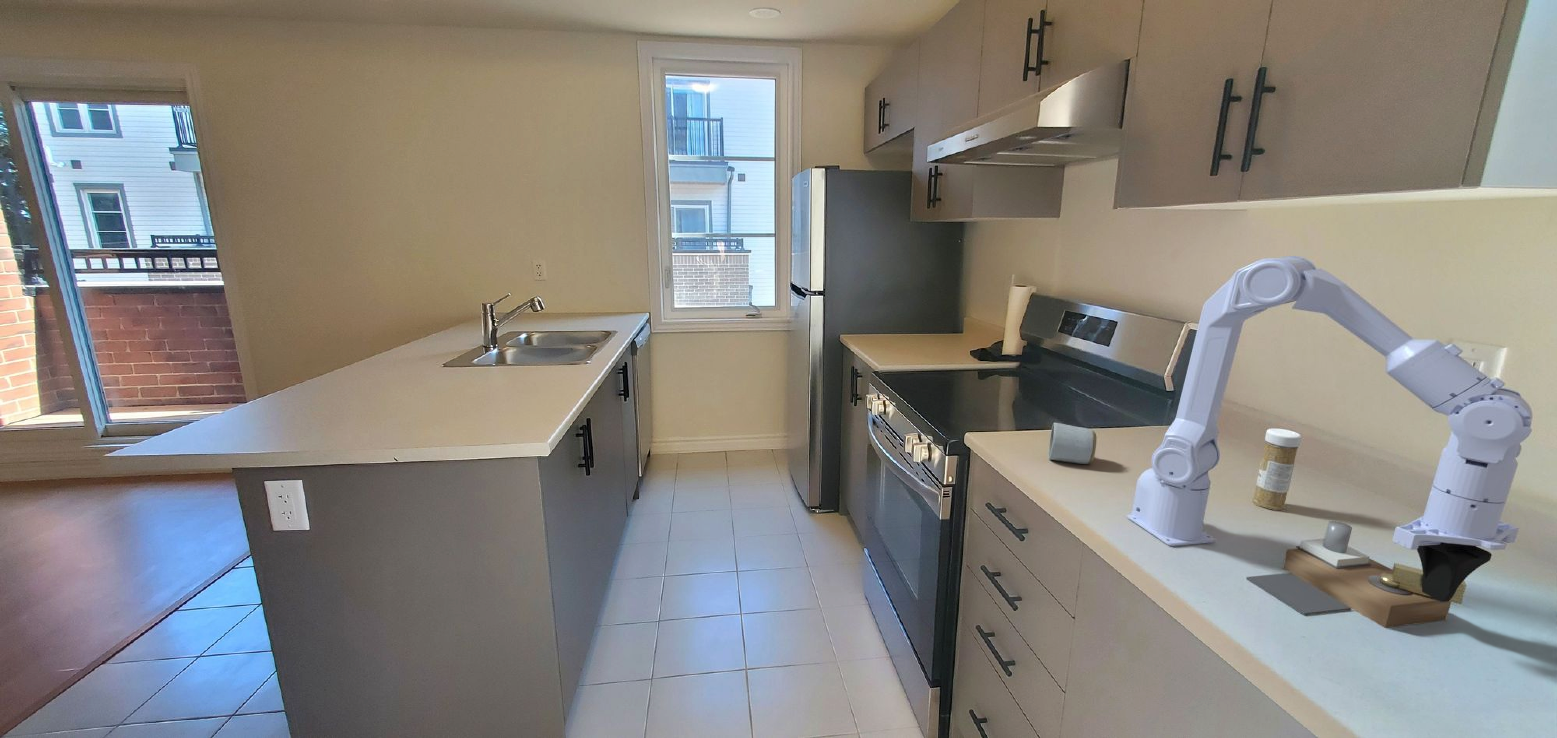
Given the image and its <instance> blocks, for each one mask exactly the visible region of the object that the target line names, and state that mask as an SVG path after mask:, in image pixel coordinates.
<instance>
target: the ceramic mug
mask: <svg viewBox="0 0 1557 738" xmlns="http://www.w3.org/2000/svg"><path fill="white" fill-rule="evenodd" d="M1049 437H1050V438H1049V443H1048V455H1047V458H1048V460H1050V461H1059V462H1064V463H1065V462H1066V463H1073V464H1081V465H1086V464H1087V465H1088V464H1091V463H1092V462H1093V460H1094V458H1095V455H1096V449H1097V434H1096V432H1095V431H1094V430H1092V429H1090V428H1087V427H1082V426H1081V427H1080V426H1075V425H1071V424H1065V423H1060V422H1053V424H1052V427H1051V430H1050V436H1049Z"/></svg>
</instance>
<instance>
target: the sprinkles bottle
mask: <svg viewBox="0 0 1557 738" xmlns="http://www.w3.org/2000/svg"><path fill="white" fill-rule="evenodd" d="M1301 439H1302V436H1301V434H1300V433H1298V432H1296V431H1292V430H1291V429H1290V430H1289V429H1283V428H1269V429H1267V430H1266V433H1265V438H1264V440H1265V441H1264V442H1265V445H1264V448H1263V453H1262V458H1261V461H1260V463H1259V464H1260V465H1259V470H1258V473H1257V479H1256V483H1255V484H1256V485H1255V491H1254V496H1253V497H1252V502H1253V503H1254V504H1255V505H1256V506H1259V507H1260V508H1261V507H1262V508H1265V509H1269V510H1274V511H1281V510H1285V508H1286V501H1287V495H1288V492H1289V488H1290V484H1291V481H1292V477H1293V472H1294V467H1295V459H1296V455H1297V451H1298V449H1299V447H1300V446H1301Z"/></svg>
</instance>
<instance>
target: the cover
mask: <svg viewBox="0 0 1557 738" xmlns="http://www.w3.org/2000/svg"><path fill="white" fill-rule="evenodd" d="M1352 529H1353V527H1352V526H1351V525H1349V524H1347V523H1345V522H1341V521H1336V520H1330V521H1328V524H1327V526H1326V530H1325V535H1324V538H1316V539H1305V540H1304V539H1302V540H1300V544H1299V546H1300V548H1302V549H1304V550H1306V551H1308V552H1310V553H1312V554H1314V555H1316V556H1318V557H1319V558H1321V559H1323V560H1325V561H1327V562H1329V563H1331V564H1333V565H1335V566H1346V565H1356V564H1366V563H1368V561H1369V558H1370V556H1369V555H1367V554H1366V553H1363V552H1361V551H1359V550H1357V549H1355V548H1352V547H1351V546H1349V542H1350V539H1351V535H1352V534H1351V533H1352Z"/></svg>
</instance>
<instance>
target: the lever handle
mask: <svg viewBox="0 0 1557 738" xmlns="http://www.w3.org/2000/svg"><path fill="white" fill-rule="evenodd" d="M1422 579H1423V569H1422V568H1421V569H1420V568H1416V567H1413V566H1408V565H1405V564H1400V563H1396V562H1394V563H1393V567H1392V573H1391V574H1385V573H1383V574H1381V575H1380V579H1379V581H1380V582H1381V583H1382V584H1384V585H1386V586H1389V587H1393V588H1400V589H1404V590H1408V591H1411V592H1415V593H1419V594H1423V595H1426V596H1429V595H1427V594H1425V593H1423V592H1422ZM1467 586H1468V585H1467V583H1466V581H1465V580H1464V581H1463V582H1462V583H1461V584H1460V585H1459V587H1458V588H1457V590H1456V592H1455V594H1454V596H1453V597H1452V598H1451V599H1450V600H1449V602H1451V603H1453V604H1457V605H1462V602H1463V598H1464V596H1465V592H1466V588H1467ZM1430 597H1431V596H1430Z"/></svg>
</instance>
